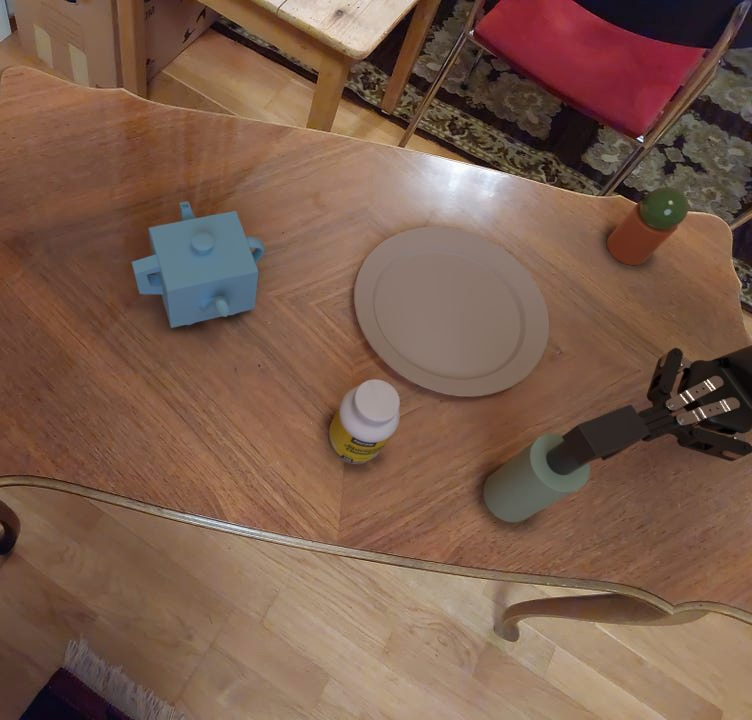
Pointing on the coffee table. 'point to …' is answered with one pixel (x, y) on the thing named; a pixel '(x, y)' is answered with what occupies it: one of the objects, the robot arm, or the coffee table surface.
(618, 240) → the plant pot
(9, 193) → the coffee table surface
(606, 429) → the spray bottle
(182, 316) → the teapot
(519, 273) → the plate
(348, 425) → the pill bottle
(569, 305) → the coffee table surface
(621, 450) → the trigger
